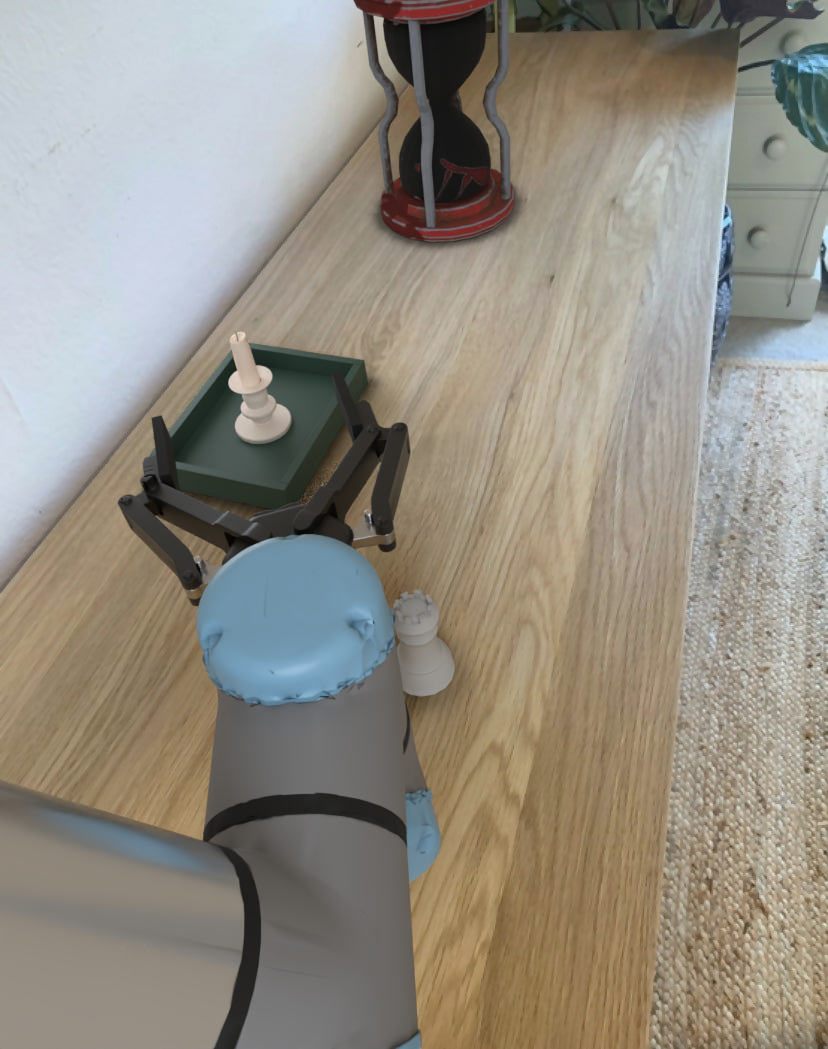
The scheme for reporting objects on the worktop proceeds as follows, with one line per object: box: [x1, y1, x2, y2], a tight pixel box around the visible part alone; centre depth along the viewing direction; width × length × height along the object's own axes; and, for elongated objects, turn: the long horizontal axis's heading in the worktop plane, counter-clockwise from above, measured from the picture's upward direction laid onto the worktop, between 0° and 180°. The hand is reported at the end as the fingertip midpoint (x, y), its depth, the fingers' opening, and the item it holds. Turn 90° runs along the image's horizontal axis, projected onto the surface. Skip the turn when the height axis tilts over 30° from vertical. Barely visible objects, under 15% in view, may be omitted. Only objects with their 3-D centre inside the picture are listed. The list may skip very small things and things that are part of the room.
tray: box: [147, 342, 369, 510], centre depth 78 cm, size 18×14×3 cm
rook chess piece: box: [390, 589, 456, 697], centre depth 57 cm, size 4×4×8 cm
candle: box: [228, 331, 292, 444], centre depth 75 cm, size 5×5×10 cm
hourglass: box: [353, 0, 515, 243], centre depth 94 cm, size 16×16×25 cm
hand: (251, 406), depth 64 cm, fingers open, 13 cm apart
